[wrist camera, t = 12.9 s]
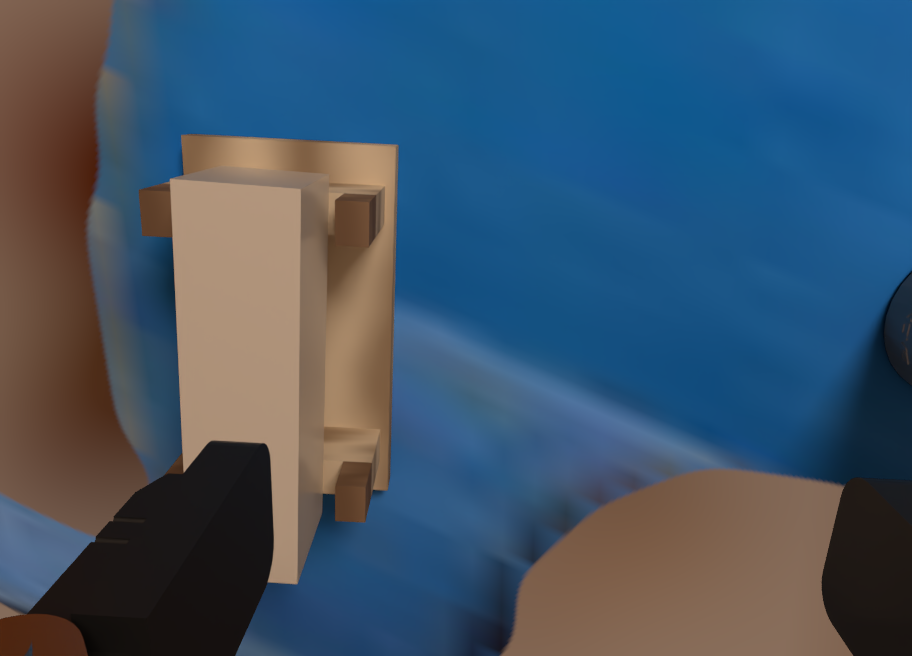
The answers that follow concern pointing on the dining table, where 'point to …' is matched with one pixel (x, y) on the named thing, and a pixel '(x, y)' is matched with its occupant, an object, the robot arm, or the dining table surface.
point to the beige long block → (256, 331)
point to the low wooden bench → (332, 293)
